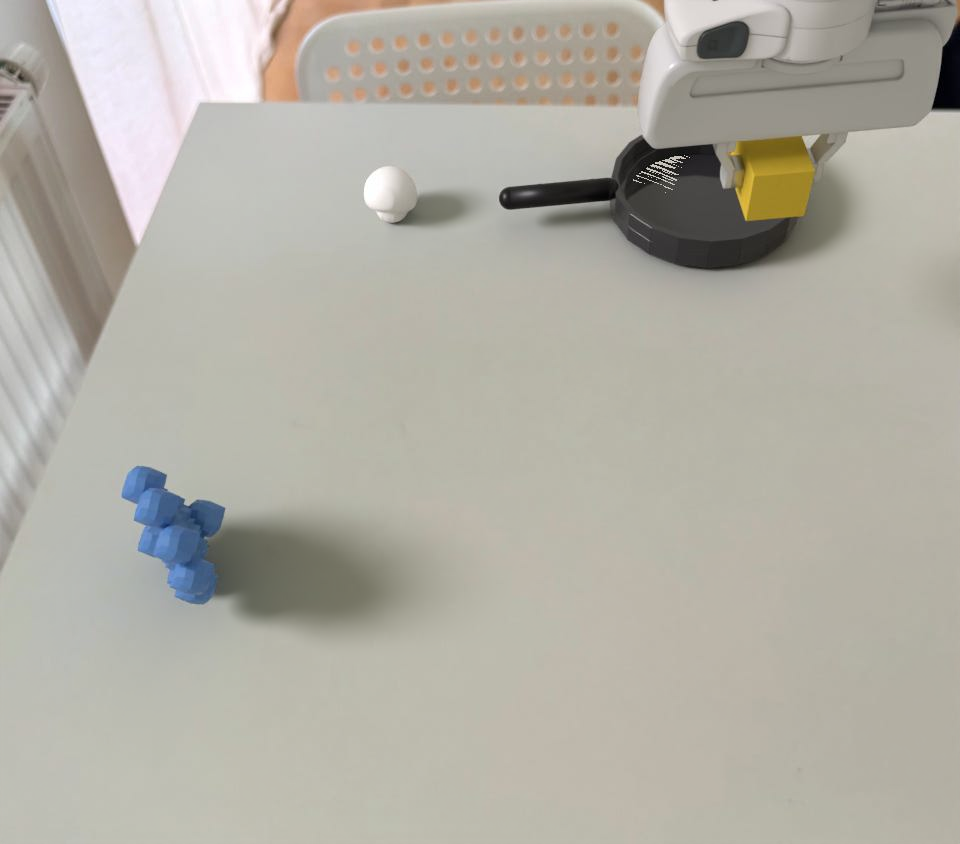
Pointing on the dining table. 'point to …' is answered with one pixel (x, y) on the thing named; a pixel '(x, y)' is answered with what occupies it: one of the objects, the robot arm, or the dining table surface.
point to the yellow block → (774, 178)
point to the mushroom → (390, 193)
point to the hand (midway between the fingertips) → (768, 179)
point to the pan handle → (558, 193)
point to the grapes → (175, 532)
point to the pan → (687, 209)
